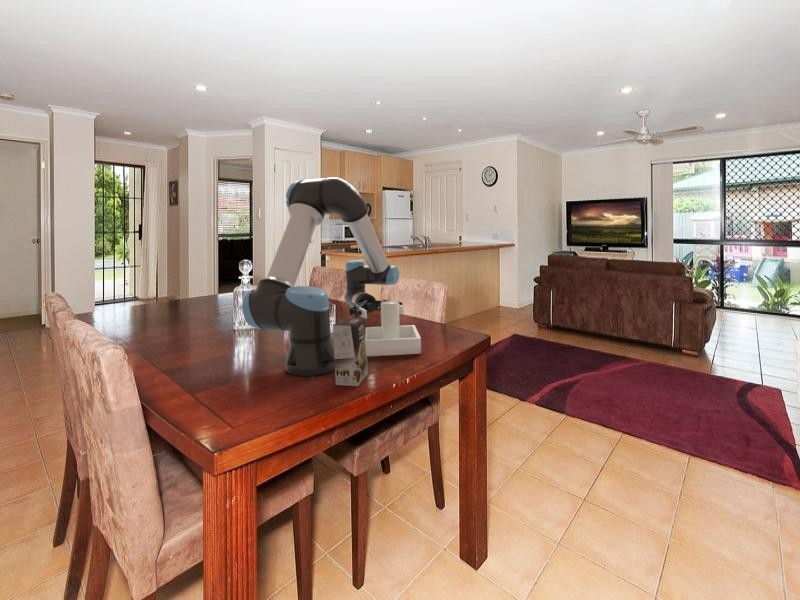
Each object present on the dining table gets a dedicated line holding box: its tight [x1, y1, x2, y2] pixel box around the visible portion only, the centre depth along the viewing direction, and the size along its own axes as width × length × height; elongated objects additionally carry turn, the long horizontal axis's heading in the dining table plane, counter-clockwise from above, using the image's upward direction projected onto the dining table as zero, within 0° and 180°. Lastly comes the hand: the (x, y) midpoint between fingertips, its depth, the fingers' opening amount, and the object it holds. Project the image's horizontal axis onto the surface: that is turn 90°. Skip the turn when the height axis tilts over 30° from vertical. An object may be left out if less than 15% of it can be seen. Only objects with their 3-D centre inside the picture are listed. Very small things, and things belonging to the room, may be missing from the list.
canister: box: [380, 300, 401, 339], centre depth 143 cm, size 6×6×14 cm
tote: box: [365, 324, 422, 357], centre depth 144 cm, size 18×18×5 cm
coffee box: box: [332, 317, 368, 387], centre depth 114 cm, size 9×6×16 cm
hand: (384, 312), depth 148 cm, fingers open, 13 cm apart
